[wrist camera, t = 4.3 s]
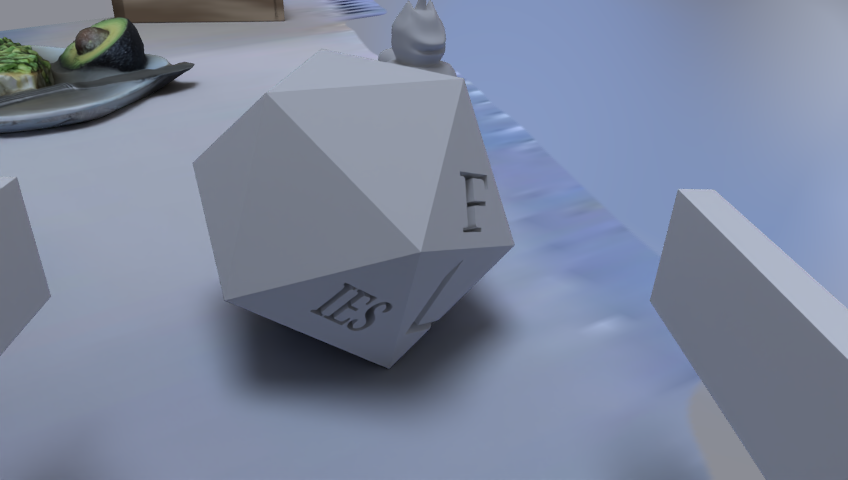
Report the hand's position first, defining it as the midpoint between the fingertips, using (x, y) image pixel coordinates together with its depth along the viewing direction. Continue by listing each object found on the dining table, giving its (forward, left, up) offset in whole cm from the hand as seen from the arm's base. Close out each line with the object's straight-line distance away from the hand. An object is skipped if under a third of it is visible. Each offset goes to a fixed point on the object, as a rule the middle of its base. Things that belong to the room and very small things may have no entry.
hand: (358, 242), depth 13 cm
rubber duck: (-26, +9, -6) cm, 28 cm away
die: (-6, +1, -6) cm, 8 cm away
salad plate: (-36, -14, -6) cm, 39 cm away
